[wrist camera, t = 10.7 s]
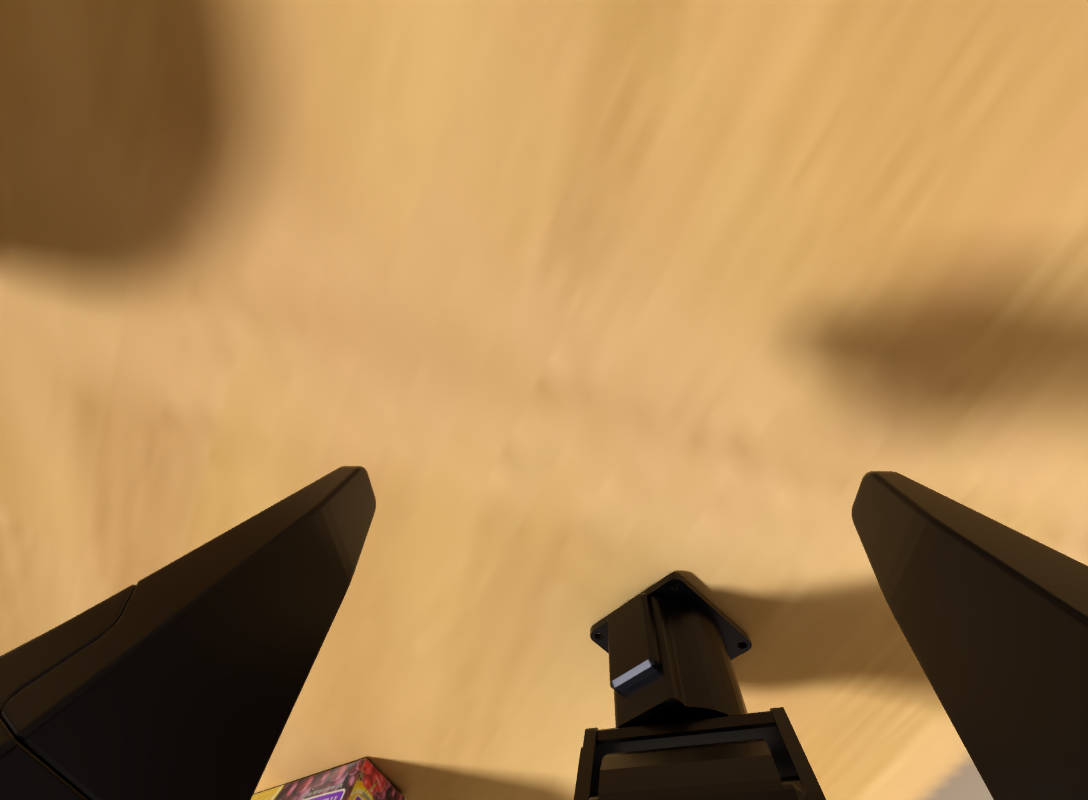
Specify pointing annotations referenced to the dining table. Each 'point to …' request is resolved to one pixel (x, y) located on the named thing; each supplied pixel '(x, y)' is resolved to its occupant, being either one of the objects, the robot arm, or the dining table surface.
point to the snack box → (337, 785)
